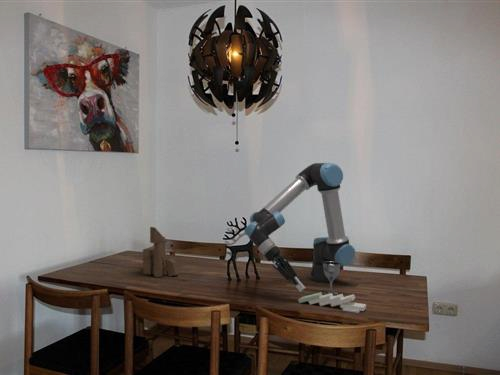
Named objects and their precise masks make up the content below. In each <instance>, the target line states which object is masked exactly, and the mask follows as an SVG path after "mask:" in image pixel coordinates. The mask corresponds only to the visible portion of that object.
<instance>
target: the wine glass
mask: <svg viewBox="0 0 500 375" xmlns="http://www.w3.org/2000/svg"><path fill="white" fill-rule="evenodd" d="M340 267H341V266H340V263H339V262H333V261H326V262H323V269H324V274H325V275H326V277H327V278H328V279H329V281H330V282H329V288H330V289H329V291H328V290H327V291H324V292H323V295H327V294H330V293H332V294H333V296H337V295H339V293H338V292H337V291H333V282H334V281H333V280H334V279H335V278H336V277H337V278H338V276H339V273H340V269H341V268H340Z"/></svg>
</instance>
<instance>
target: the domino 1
mask: <svg viewBox="0 0 500 375" xmlns="http://www.w3.org/2000/svg"><path fill="white" fill-rule="evenodd" d="M323 295H324V294H323V293H322V292H321V291H320V292H317V293H313V294H308V295H304V296H301V297H300V298H299V299H298V304H301V303H306V302H309V301H310V300H315V299H319V298H320V297H322V296H323Z"/></svg>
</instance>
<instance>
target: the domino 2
mask: <svg viewBox="0 0 500 375" xmlns="http://www.w3.org/2000/svg"><path fill="white" fill-rule="evenodd" d="M322 295H323V296H322V297H320V298H319V299H315V300H310V301H308V303H309V305H314V304H319V302H322V301H326V300H329V299H331V298H332V297H333V296H334V295H333V294H332V293H330V294H327V295H326V294H322Z"/></svg>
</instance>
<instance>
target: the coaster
mask: <svg viewBox="0 0 500 375" xmlns="http://www.w3.org/2000/svg"><path fill="white" fill-rule="evenodd" d="M342 311H343V312H349V313H357V314H360V312H361V311H359V310H352V309H346V308H342Z"/></svg>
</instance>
